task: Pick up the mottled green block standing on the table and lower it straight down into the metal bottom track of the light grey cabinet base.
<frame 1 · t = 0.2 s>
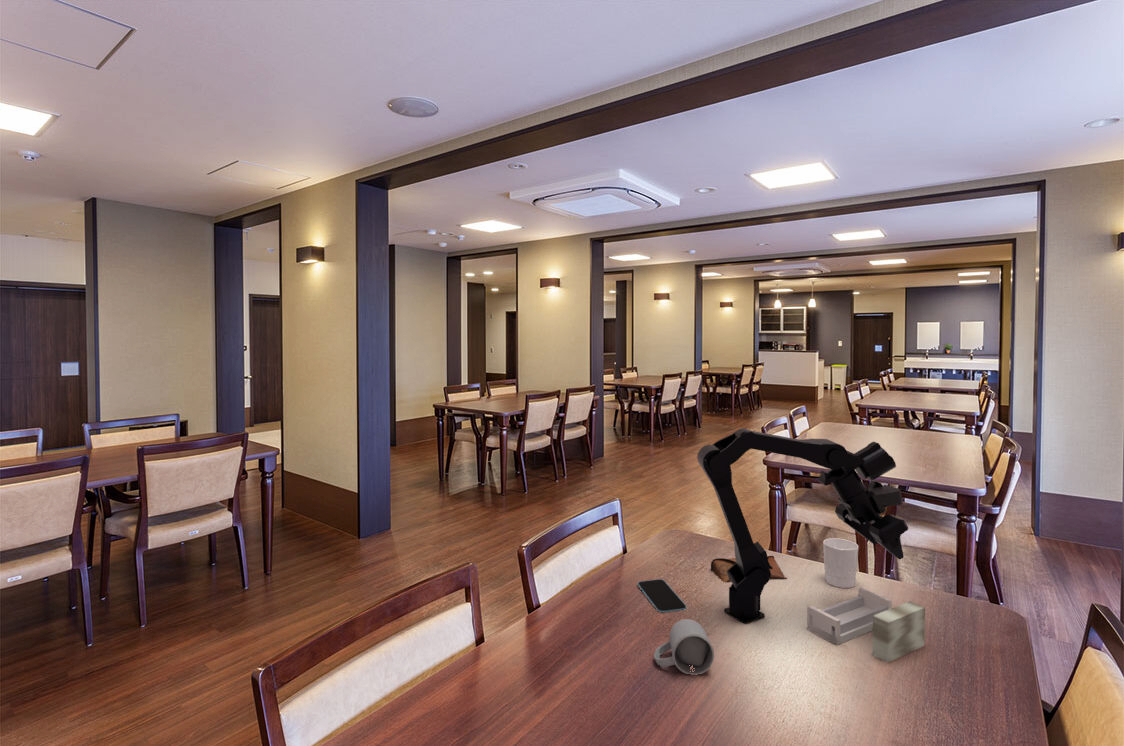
hand: (888, 550, 121), 15 cm above the table, tool tilted 30°, fingers open, 9 cm apart
white cup: (840, 583, 138), on the table
smartphone: (661, 599, 132), on the table
sunglasses case: (749, 576, 144), on the table
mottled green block: (898, 650, 108), on the table
ceramic mug: (683, 665, 105), on the table
cabinet track: (849, 625, 118), on the table
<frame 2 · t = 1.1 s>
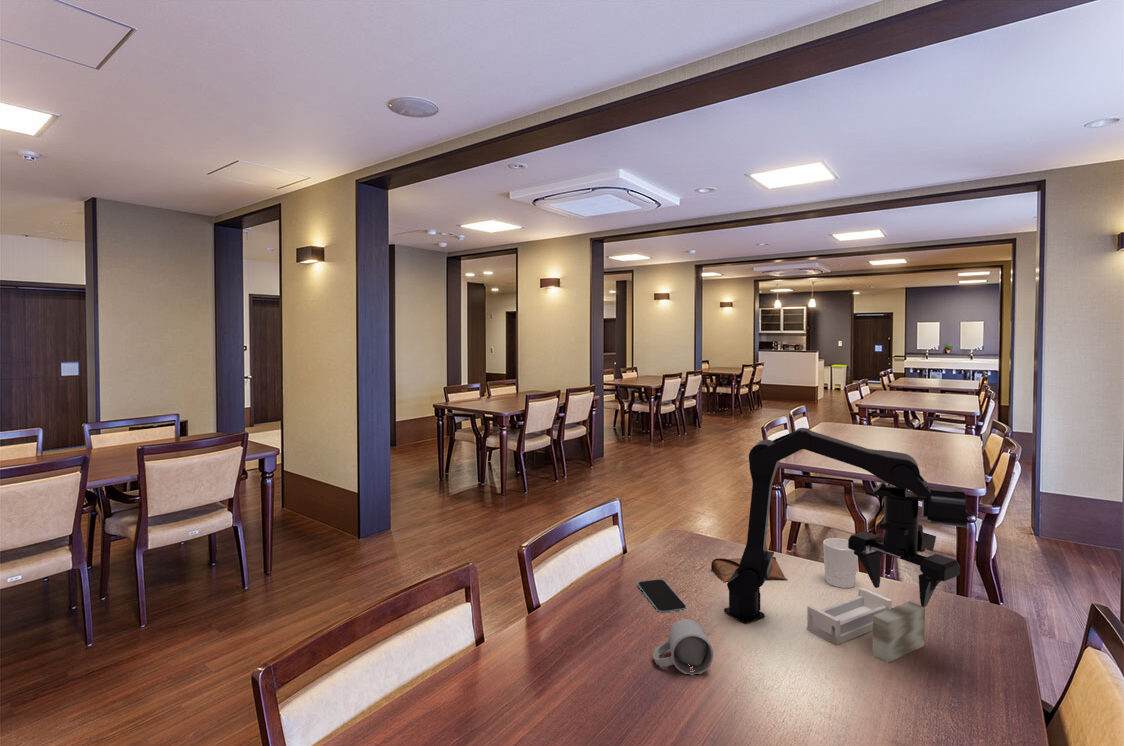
hand: (899, 596, 108), 11 cm above the table, tool pointing down, fingers open, 9 cm apart
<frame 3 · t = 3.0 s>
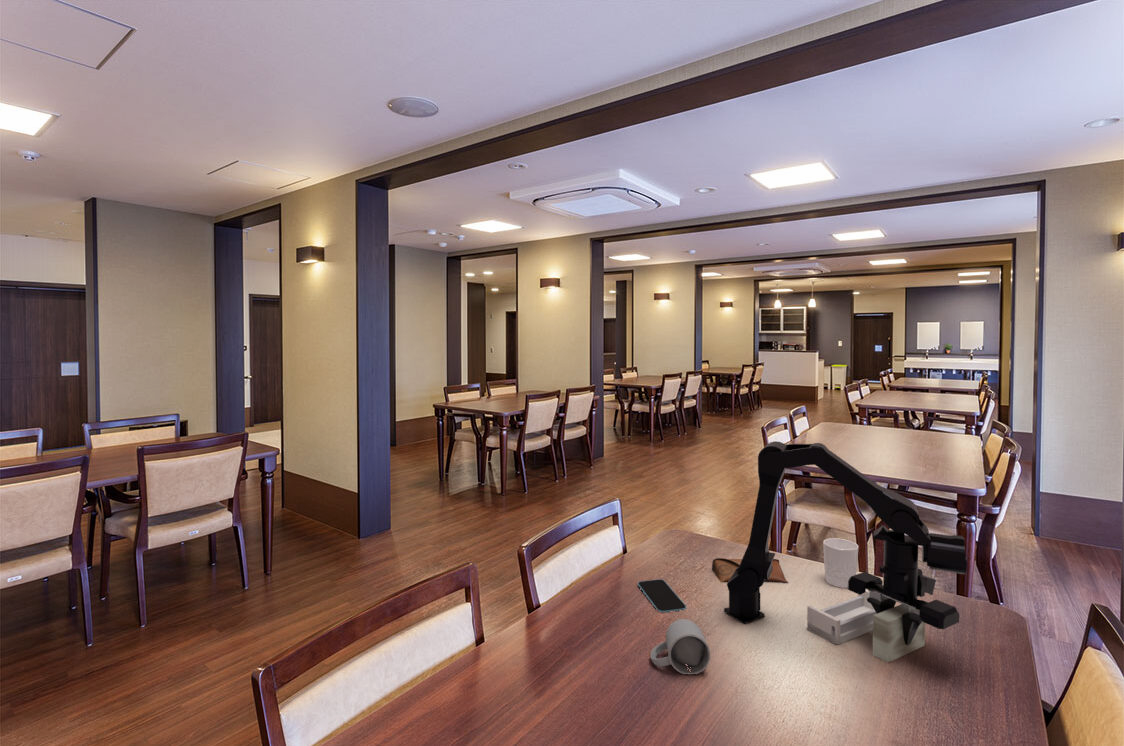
hand: (899, 640, 108), 2 cm above the table, tool pointing down, fingers closed on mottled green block, 3 cm apart
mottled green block: (898, 650, 108), on the table, touching gripper
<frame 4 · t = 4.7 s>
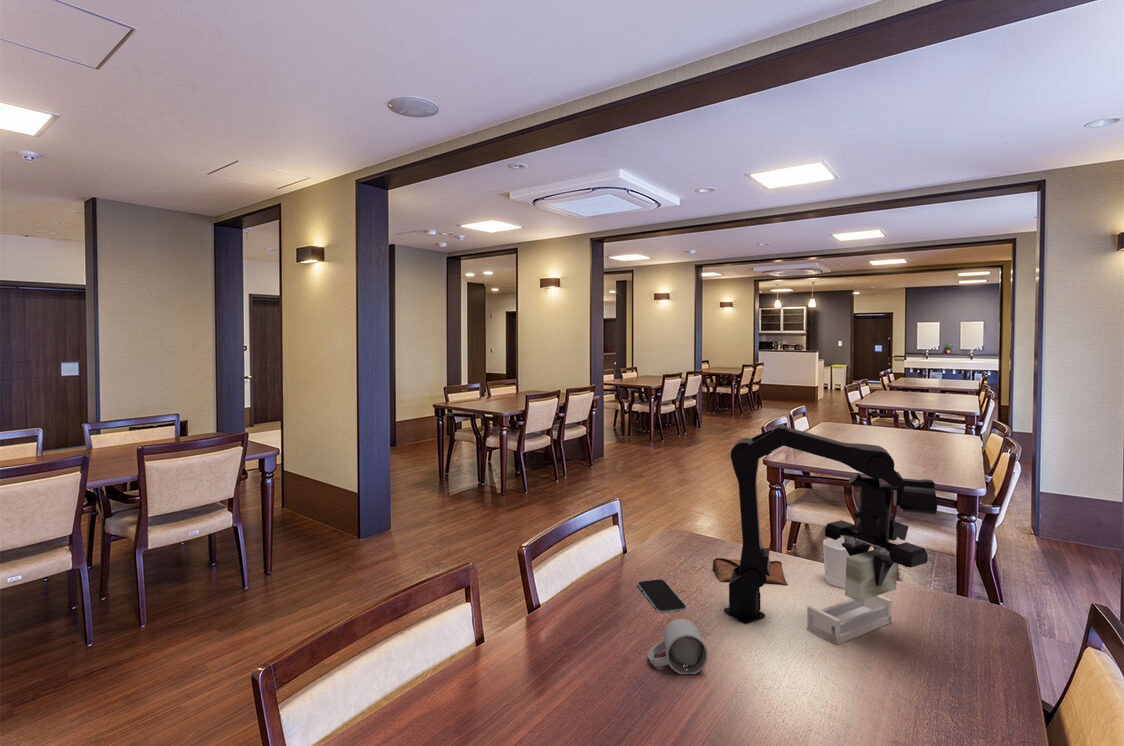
hand: (871, 582, 113), 12 cm above the table, tool pointing down, fingers closed on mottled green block, 3 cm apart
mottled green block: (870, 592, 113), point 9 cm above the table, touching gripper
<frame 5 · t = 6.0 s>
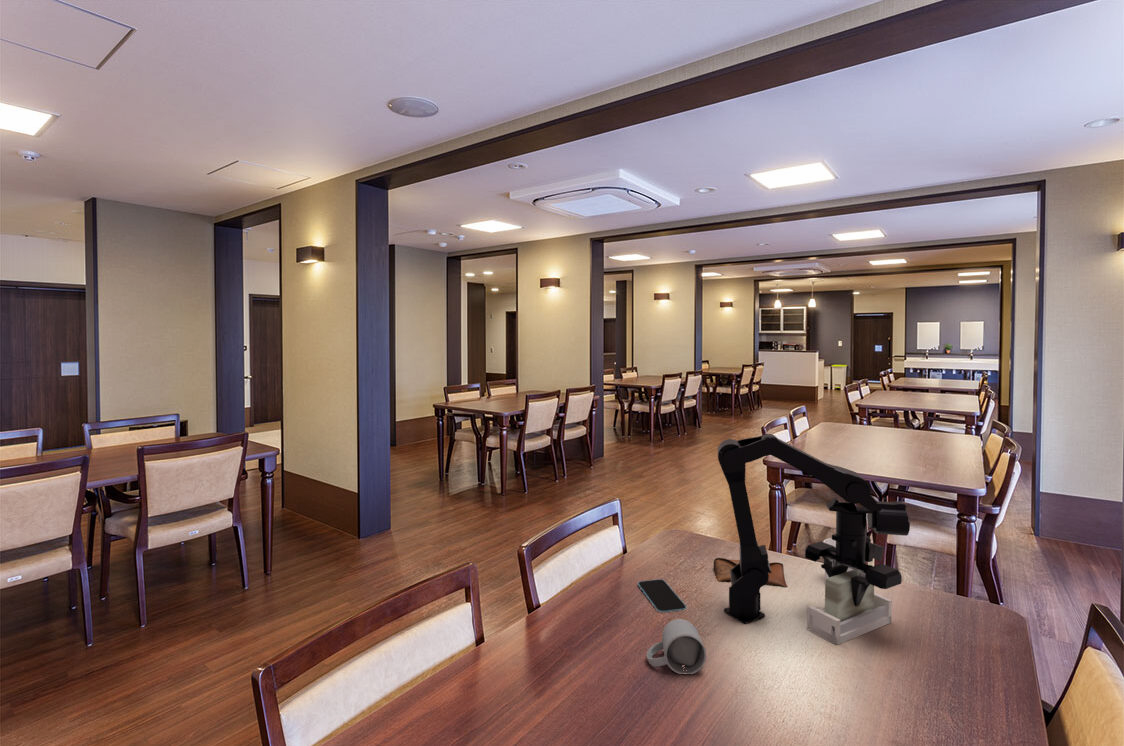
hand: (849, 602, 117), 5 cm above the table, tool pointing down, fingers closed on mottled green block, 3 cm apart
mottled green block: (849, 611, 118), point 3 cm above the table, touching gripper
when the fingers open (5 cm above the table, at t = 6.6 s): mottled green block drops 1 cm, resting on cabinet track.
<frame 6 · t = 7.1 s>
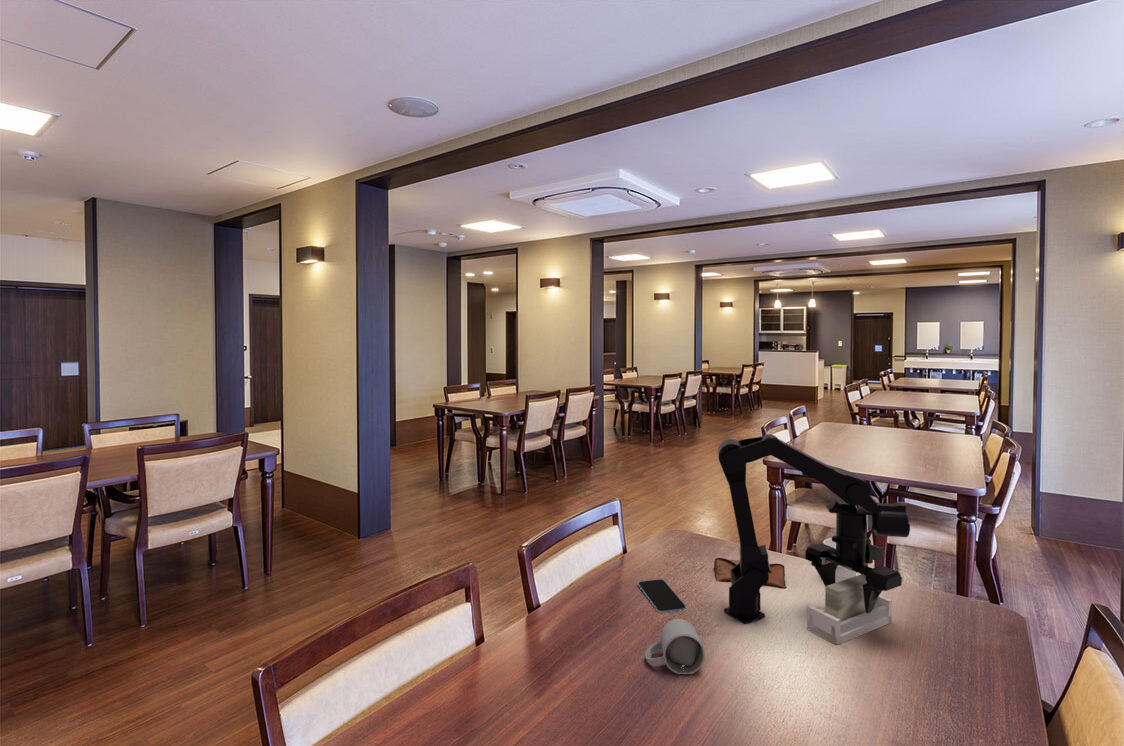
hand: (849, 604, 117), 5 cm above the table, tool pointing down, fingers open, 8 cm apart
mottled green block: (849, 619, 118), point 1 cm above the table, touching cabinet track
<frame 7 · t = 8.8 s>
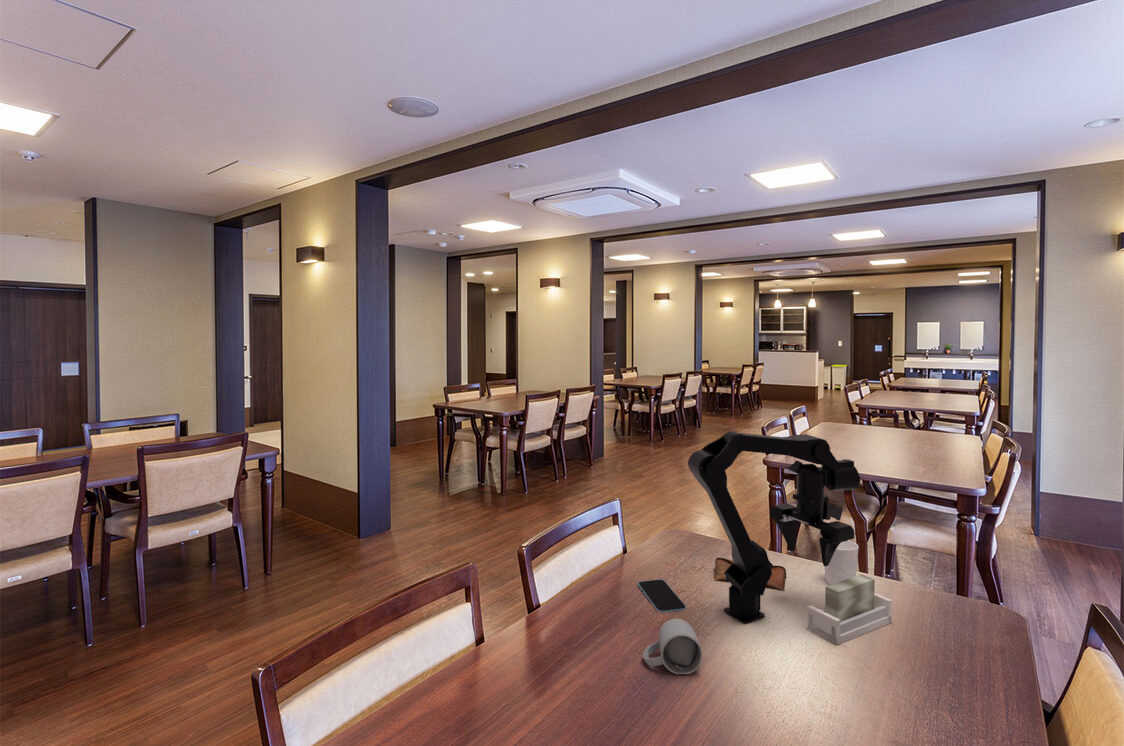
hand: (808, 558, 125), 12 cm above the table, tool pointing down, fingers open, 9 cm apart
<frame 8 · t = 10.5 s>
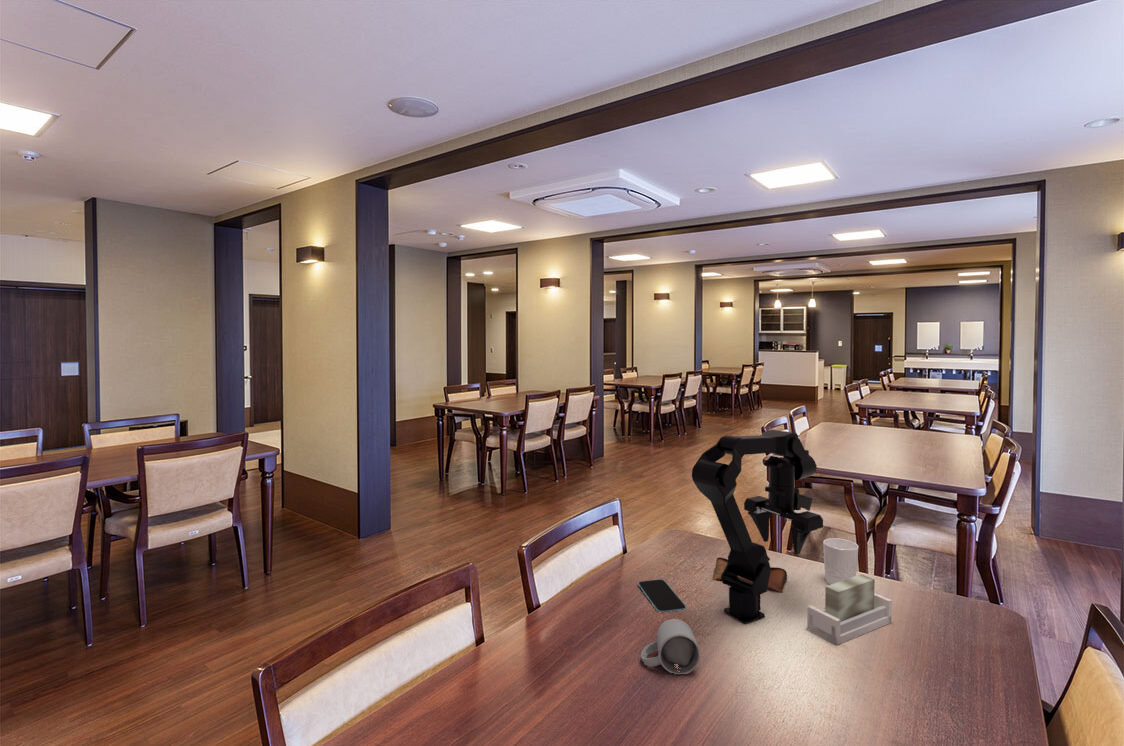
hand: (781, 547, 131), 12 cm above the table, tool pointing down, fingers open, 9 cm apart
at the end: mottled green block 0.0 cm off-centre on the cabinet track, point 1.5 cm above the cabinet track's base; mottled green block tilted 0°; the gripper is holding nothing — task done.
